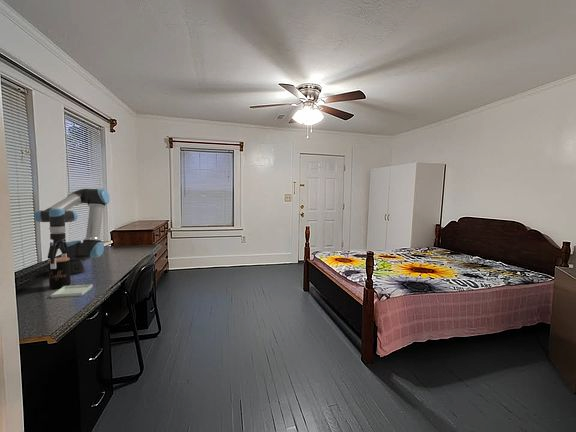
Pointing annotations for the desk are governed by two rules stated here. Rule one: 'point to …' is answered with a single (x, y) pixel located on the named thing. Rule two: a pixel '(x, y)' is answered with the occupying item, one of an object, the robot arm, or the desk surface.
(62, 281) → the coffee jar
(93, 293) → the desk surface
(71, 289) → the sage tray
